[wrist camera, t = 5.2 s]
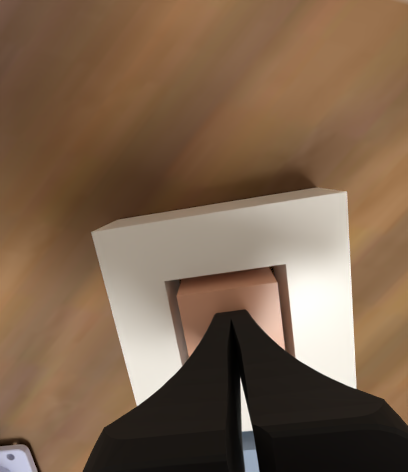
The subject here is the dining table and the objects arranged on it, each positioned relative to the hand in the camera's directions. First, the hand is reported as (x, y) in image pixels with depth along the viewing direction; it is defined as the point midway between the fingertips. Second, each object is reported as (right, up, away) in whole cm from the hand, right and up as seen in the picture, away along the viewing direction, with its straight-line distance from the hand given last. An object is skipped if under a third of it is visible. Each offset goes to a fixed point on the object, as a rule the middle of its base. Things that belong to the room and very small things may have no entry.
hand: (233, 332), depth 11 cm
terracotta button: (0, +1, +3) cm, 3 cm away
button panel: (+1, -7, +5) cm, 9 cm away
